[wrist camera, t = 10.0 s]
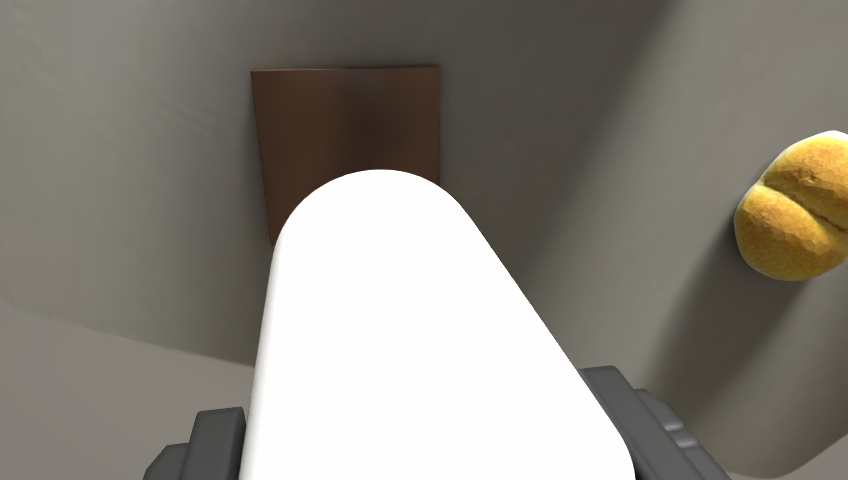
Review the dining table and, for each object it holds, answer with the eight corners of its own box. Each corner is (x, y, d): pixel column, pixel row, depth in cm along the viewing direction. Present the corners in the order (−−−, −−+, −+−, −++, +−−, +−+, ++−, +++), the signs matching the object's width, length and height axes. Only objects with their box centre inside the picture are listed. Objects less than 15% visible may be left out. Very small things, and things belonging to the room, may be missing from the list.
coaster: (271, 243, 31) (271, 246, 30) (251, 69, 27) (250, 70, 27) (436, 231, 32) (438, 235, 32) (438, 65, 28) (440, 66, 28)
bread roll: (701, 236, 35) (745, 264, 32) (801, 109, 33) (861, 124, 29) (785, 288, 38) (834, 320, 35) (883, 174, 36) (946, 195, 32)
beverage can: (511, 241, 18) (793, 599, 8) (385, 372, 20) (475, 842, 9) (364, 116, 16) (471, 380, 5) (230, 273, 17) (91, 756, 6)
